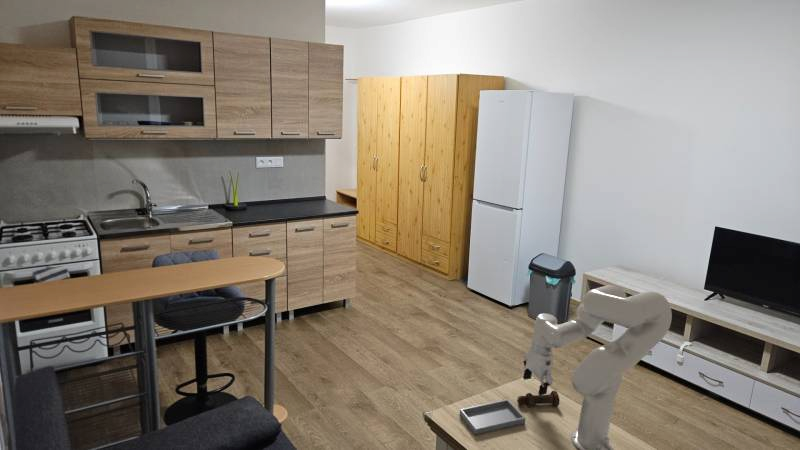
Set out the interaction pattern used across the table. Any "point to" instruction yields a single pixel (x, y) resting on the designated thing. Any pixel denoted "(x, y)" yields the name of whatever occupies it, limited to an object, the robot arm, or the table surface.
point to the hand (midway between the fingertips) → (534, 386)
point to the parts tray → (492, 417)
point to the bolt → (539, 399)
